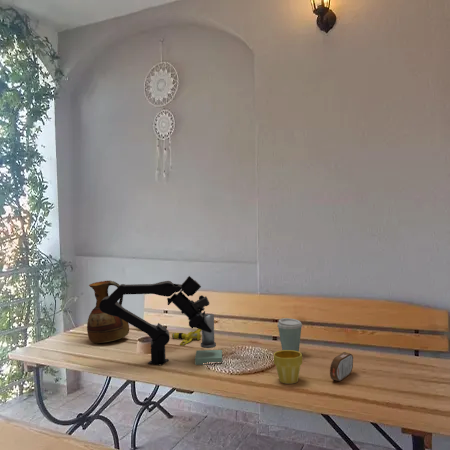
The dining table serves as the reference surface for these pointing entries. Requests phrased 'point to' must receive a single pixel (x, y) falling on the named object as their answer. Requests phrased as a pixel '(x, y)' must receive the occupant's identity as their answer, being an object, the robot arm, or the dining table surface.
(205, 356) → the green square slab
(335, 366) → the tin
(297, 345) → the disposable coffee cup
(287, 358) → the plant pot
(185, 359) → the dining table surface
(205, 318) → the cylinder
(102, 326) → the ceramic pitcher
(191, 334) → the sprinkler
